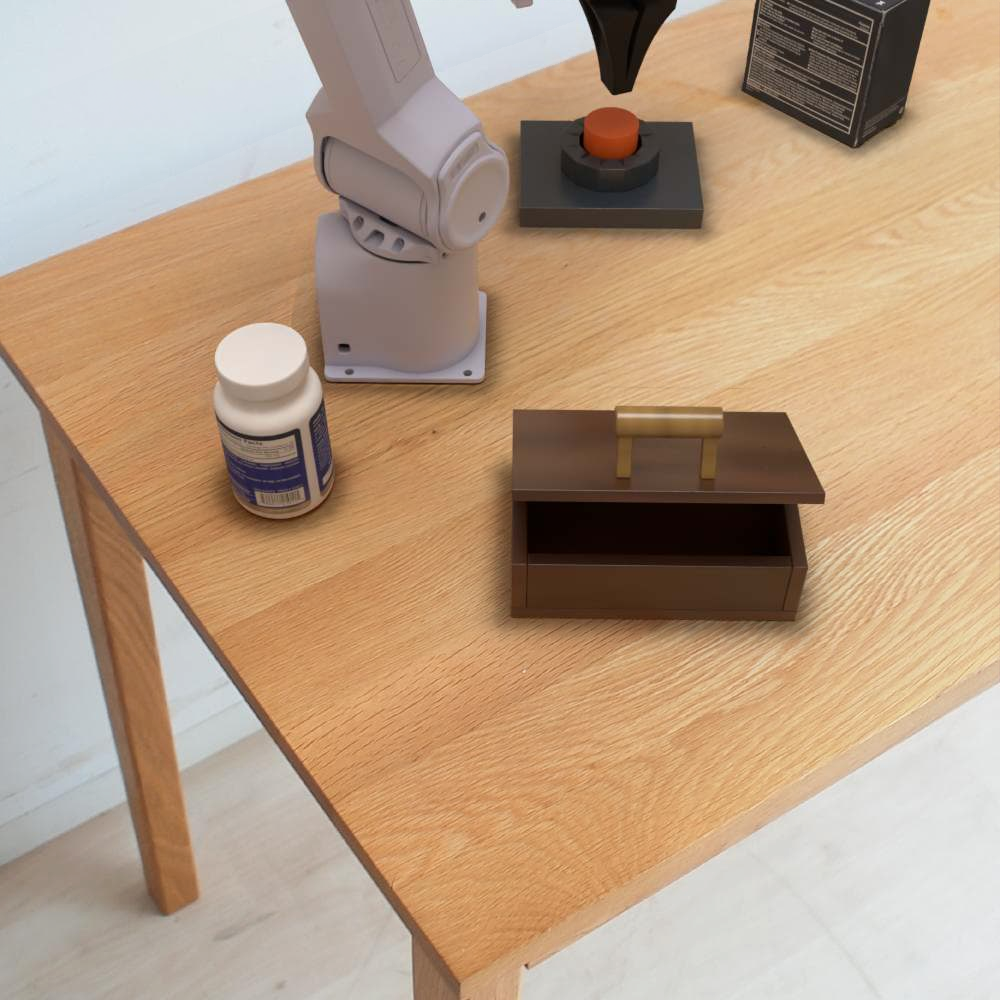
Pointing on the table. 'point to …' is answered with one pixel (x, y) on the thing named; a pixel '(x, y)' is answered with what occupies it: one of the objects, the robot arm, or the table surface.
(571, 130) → the control block
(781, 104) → the small box
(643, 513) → the compartment
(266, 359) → the pill bottle
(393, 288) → the robot arm
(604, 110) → the button
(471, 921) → the table surface
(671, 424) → the lid
